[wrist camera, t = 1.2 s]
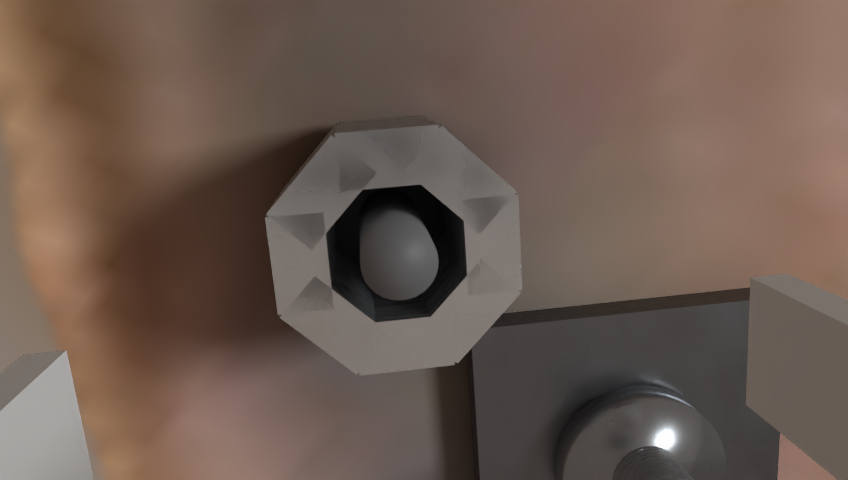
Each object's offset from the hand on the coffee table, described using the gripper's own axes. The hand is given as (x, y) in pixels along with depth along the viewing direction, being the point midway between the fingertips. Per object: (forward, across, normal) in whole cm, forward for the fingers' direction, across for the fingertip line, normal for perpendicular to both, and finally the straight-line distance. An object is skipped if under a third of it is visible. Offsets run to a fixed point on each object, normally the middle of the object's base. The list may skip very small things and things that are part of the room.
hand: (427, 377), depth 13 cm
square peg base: (+16, +10, -12) cm, 22 cm away
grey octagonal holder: (+15, 0, 0) cm, 15 cm away
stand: (+16, 0, 0) cm, 16 cm away
